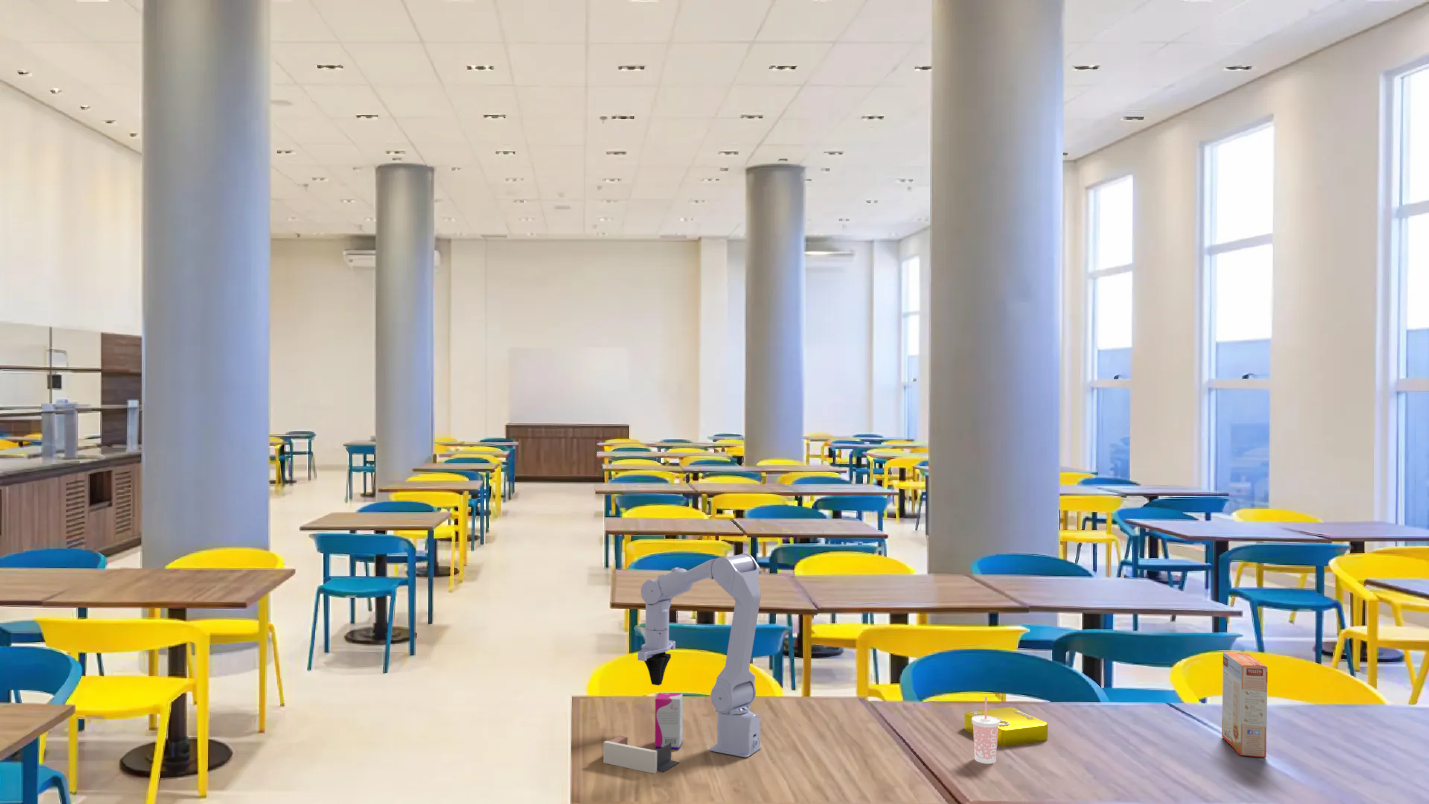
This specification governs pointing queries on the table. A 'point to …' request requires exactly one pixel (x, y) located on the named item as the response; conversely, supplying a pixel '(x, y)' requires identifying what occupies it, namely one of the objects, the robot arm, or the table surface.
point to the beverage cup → (985, 737)
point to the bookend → (665, 759)
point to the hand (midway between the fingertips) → (656, 684)
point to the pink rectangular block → (620, 740)
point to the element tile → (1012, 726)
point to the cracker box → (1244, 704)
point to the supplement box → (668, 720)
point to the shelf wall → (630, 757)
